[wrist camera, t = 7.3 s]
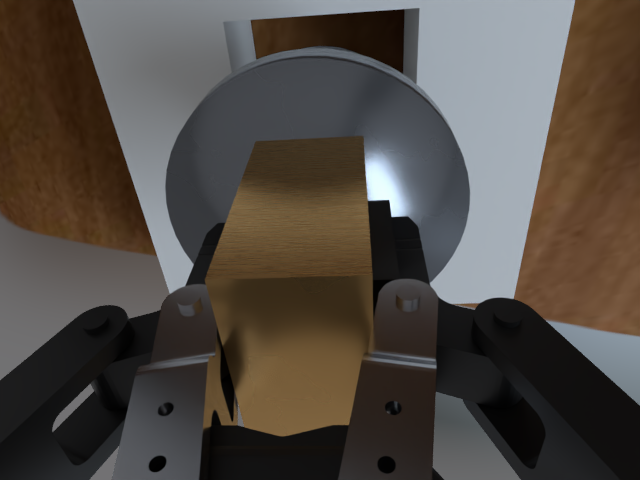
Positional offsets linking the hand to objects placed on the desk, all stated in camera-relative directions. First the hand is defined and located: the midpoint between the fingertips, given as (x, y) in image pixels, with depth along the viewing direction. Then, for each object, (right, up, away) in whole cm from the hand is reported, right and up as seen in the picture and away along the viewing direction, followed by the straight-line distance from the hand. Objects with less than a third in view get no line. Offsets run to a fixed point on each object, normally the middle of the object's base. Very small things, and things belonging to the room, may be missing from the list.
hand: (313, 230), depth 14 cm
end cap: (0, +4, +6) cm, 7 cm away
